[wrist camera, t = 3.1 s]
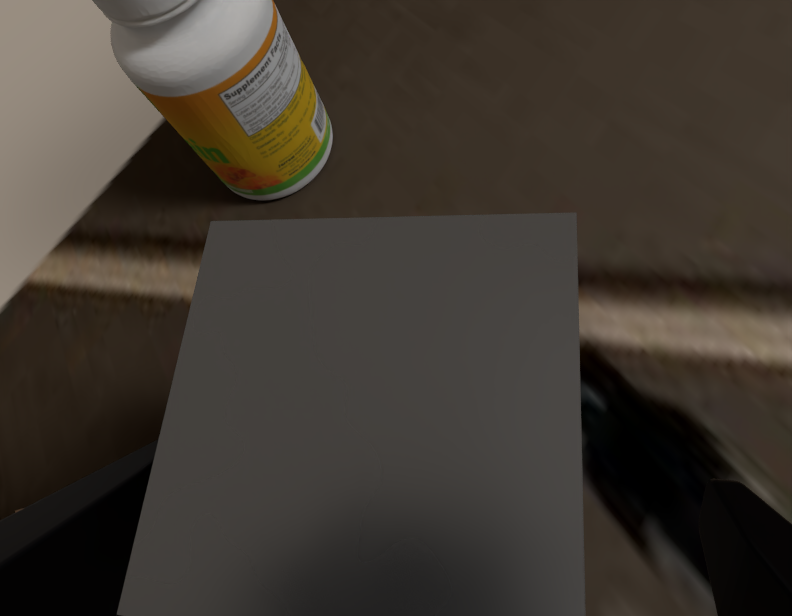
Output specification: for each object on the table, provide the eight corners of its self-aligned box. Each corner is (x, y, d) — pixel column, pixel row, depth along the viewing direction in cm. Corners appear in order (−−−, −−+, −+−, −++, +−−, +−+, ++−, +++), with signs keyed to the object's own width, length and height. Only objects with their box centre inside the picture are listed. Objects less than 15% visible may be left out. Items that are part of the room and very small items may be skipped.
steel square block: (535, 559, 16) (586, 698, 4) (391, 541, 17) (116, 614, 5) (536, 410, 17) (576, 212, 6) (403, 402, 18) (211, 221, 7)
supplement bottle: (198, 163, 24) (9, -40, 15) (281, 83, 25) (148, -158, 16) (272, 227, 22) (104, 34, 13) (360, 137, 22) (259, -106, 14)
